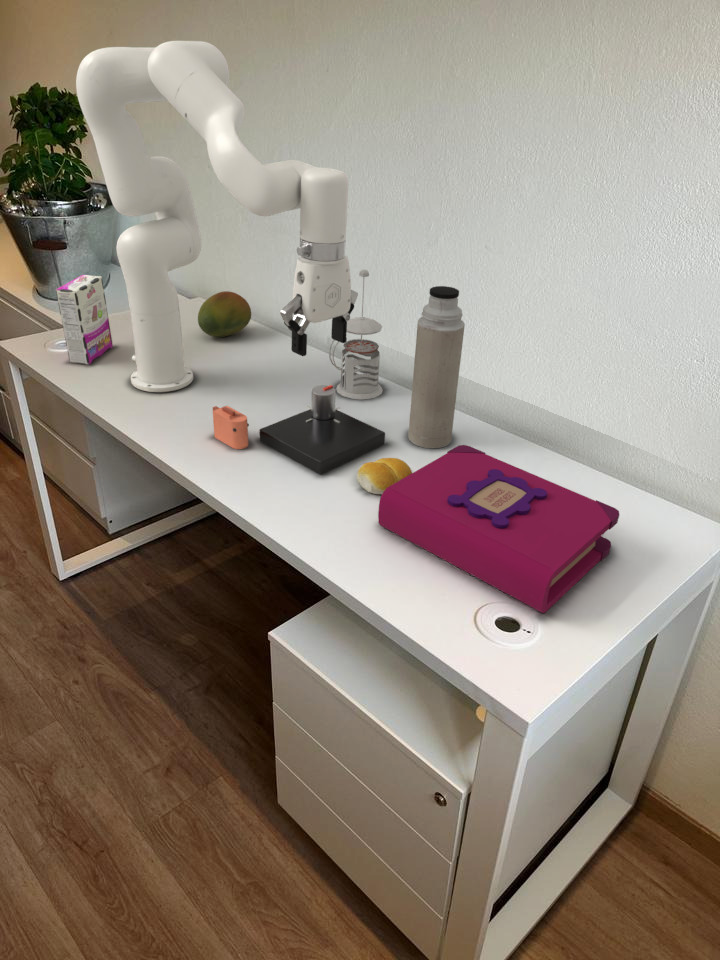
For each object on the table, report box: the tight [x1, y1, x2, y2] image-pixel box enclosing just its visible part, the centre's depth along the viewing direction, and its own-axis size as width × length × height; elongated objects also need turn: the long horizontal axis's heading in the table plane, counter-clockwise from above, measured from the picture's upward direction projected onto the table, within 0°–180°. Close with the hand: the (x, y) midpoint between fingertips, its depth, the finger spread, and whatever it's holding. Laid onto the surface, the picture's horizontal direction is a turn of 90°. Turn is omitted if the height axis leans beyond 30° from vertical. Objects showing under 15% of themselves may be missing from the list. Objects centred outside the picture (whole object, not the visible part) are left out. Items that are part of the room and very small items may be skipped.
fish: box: [212, 405, 250, 450], centre depth 132 cm, size 8×3×6 cm, turn 46°
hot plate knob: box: [311, 384, 337, 420], centre depth 136 cm, size 4×4×5 cm
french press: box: [328, 269, 384, 401], centre depth 147 cm, size 10×12×25 cm
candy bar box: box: [55, 274, 114, 365], centre depth 160 cm, size 11×5×16 cm, turn 168°
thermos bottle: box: [407, 285, 466, 449], centre depth 130 cm, size 8×8×28 cm
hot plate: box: [258, 406, 386, 476], centre depth 133 cm, size 17×17×3 cm
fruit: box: [197, 290, 252, 338], centre depth 175 cm, size 12×13×10 cm
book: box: [377, 444, 620, 614], centre depth 108 cm, size 21×28×8 cm
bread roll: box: [356, 457, 413, 495], centre depth 122 cm, size 8×9×4 cm
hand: (319, 347), depth 131 cm, fingers open, 9 cm apart
